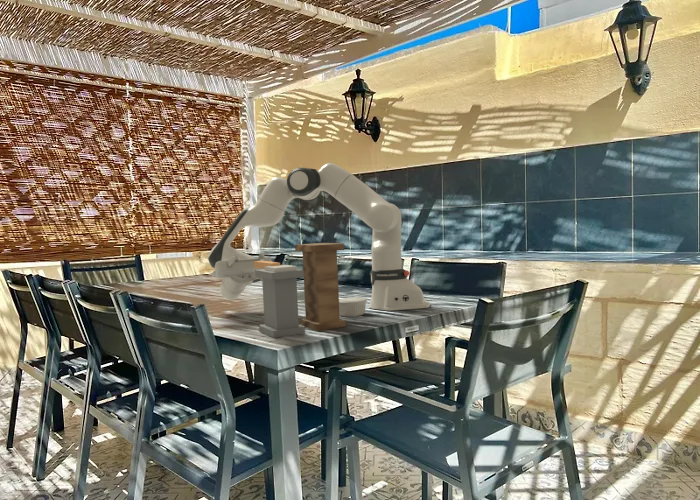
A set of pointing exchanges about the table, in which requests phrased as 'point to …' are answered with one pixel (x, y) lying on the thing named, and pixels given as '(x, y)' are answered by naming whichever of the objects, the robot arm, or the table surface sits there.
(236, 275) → the robot arm
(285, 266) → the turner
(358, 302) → the ramekin
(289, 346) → the table surface
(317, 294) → the tall stand
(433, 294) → the table surface
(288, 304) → the low stand
